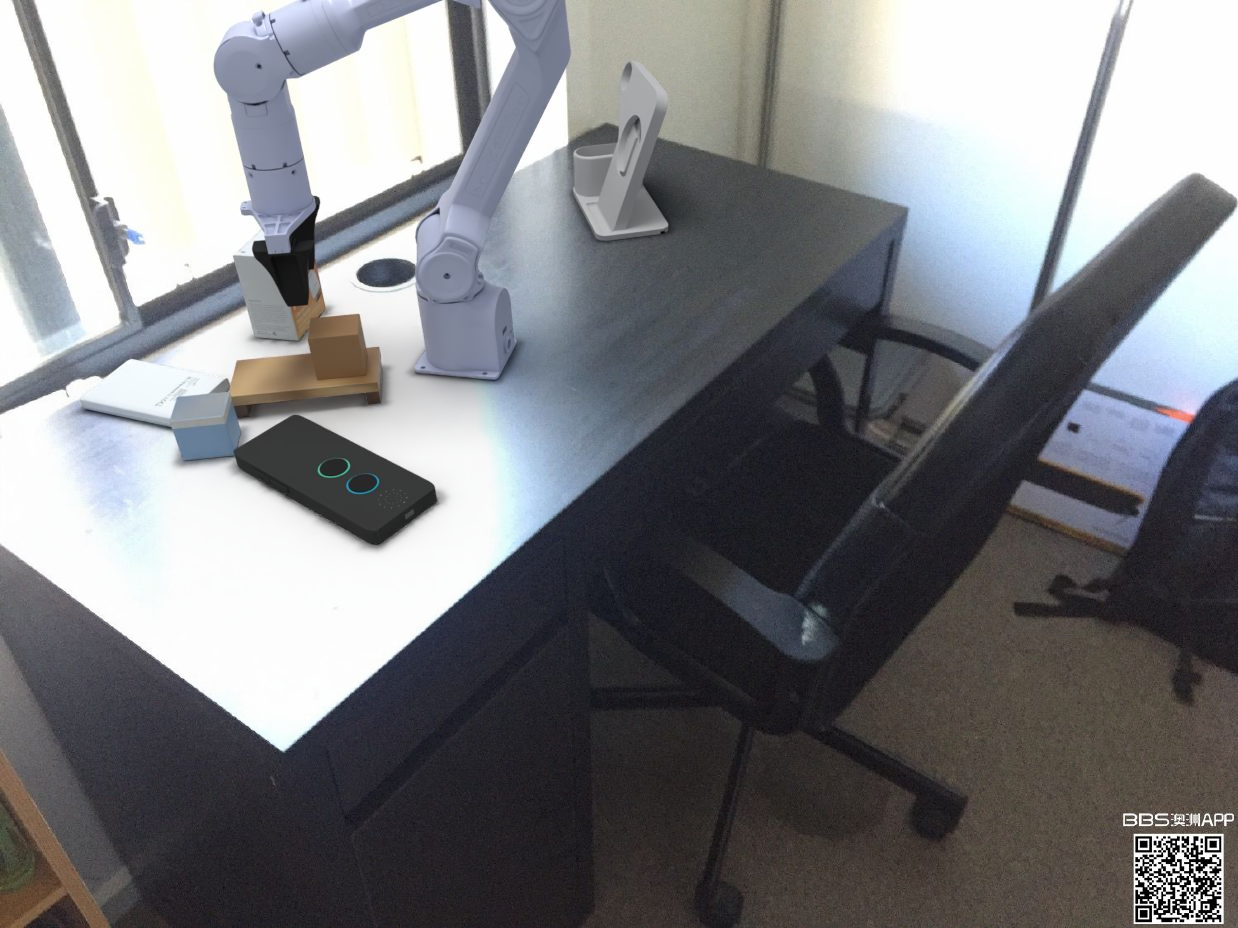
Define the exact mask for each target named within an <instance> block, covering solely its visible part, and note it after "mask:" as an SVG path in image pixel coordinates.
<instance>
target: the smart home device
mask: <svg viewBox="0 0 1238 928" xmlns="http://www.w3.org/2000/svg"><path fill="white" fill-rule="evenodd" d="M233 456H234V458H235V462H236V464H237V467H238V468H239V469H241V470H242V471H243V472H245V473H247V474H248V475H251V476H252V477H254V478H255V479H258V480H260V481H261V482H263V483H264V484H266V485H268V486H270V487H271V488H273V489H274V490H277V491H278V492H280V493H282V494H284V495H286V496H287V497H289V498H291V499H292V500H293V501H296V502H298V503H299V504H301V505H303V506H304V507H306V508H308V509H310V510H312V511H313V512H315V513H317V514H319V515H320V516H322V517H324V518H325V519H327V520H329V521H331V522H333V523H334V524H335V525H338V526H339V527H341V528H343V529H345V530H347V531H348V532H350V533H351V534H354V535H355V536H356V537H359V538H360V539H362V540H364V541H366V542H367V543H370V544H373V545H380V544H381V543H383V542H384V541H386V539H388V538H390V537H391V536H392V535H393V534H395V533H396V532H397V531H399V530H400V529H402V528H403V527H404V526H405V525H407V524H408V523H410V522H411V521H413V520H414V519H415V518H416V517H417V516H419V515H421V514H422V513H424V511H425V510H427V509H428V508H430V507H431V506H433V505H434V504H435V503H437V501H438V497H437V491H436V486H435V484H434V483H433V482H431V481H430V480H428V479H426V478H424V477H422V476H420V475H418V474H417V473H414V472H412V471H411V470H409V469H406V468H405V467H403V466H401V465H399V464H396V463H395V462H393V461H391V460H389V459H387V458H385V457H383V456H381V455H379V454H377V453H375V452H373V451H372V450H369V449H367V448H365V447H363V446H361V445H360V444H357V443H356V442H354V441H351V439H348V438H346V437H344V436H342V435H341V434H338V433H337V432H335V431H333V430H331V429H329V428H326V427H324V426H322V425H321V424H318V423H317V422H315V421H313V420H311V419H309V418H307V417H305V416H303V415H301V414H292V415H289V416H288V417H287V418H284V419H283V420H281V421H280V422H278V423H277V424H275V425H273V426H271V427H270V428H268V429H266V430H265V431H263V432H261V433H259V434H258V435H256V436H255V437H253V438H251V439H250V440H248V441H246V442H245V443H243V444H242V445H240V446H237V449H235V450H234V455H233Z"/></svg>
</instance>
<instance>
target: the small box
mask: <svg viewBox="0 0 1238 928" xmlns="http://www.w3.org/2000/svg"><path fill="white" fill-rule="evenodd" d="M259 240H265V237H264V232H263V230H262V229H261V228H260V230H259V231H258V232H257V233H256V234H255V235H253V236H252V237H251V239H249V240H248V241H247V242H246V243H245V244H244V245H243V246H242V247H241V248H239V250H238V251H235V252H234V253H233V254H232V259H233V262H234V265H235V270H236V273H237V276H238V280H239V284H240V288H241V292H242V295H243V300H244V303H245V306H246V310H247V314H248V318H249V321H250V324H251V329H252V332H253V336H254V338H261V339H275V340H286V341H299V340H301V338H302V337H303V335H304V334H305V333H306V331H307V330H309V325H310V319H311V318H318V317H320V315H322V314H323V312H325V310H326V308H327V306H326V301H325V298H324V293H323V287H322V283H321V278H320V274H319V270H318V265H317V260H316V259H315V264H314V270H308V276H309V302H308V305H305V306H293V307H288V306H287V305H286V303H285V301H284V300H283V298H282V296H281V294H280V292H279V290H278V288H277V286H276V284H275V282H274V280H273V279H272V277H271V275H270V274H269V273H268V271H267V270H266V269H265V268H264V266H263V265H262V264H261V263H260V262H258V261H257V260H256V259H255V257H254V255H253V252H252V246H253V242H254V241H259Z"/></svg>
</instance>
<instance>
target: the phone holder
mask: <svg viewBox="0 0 1238 928" xmlns="http://www.w3.org/2000/svg"><path fill="white" fill-rule="evenodd" d="M617 102H618V103H617V107H618V108H617V109H618V110H617V112H618V113H617V114H618V138H617V142H612V143H604V144H595V145H585V146H580V147H578V148H576V149H575V150H574V151H573V152H572V153H573V154H572V156H573V175H574V186H573V188H572V194H573V197H574V199H575V200H576V202H577V205H578V206H579V208H580V210H581V212H582V214H583V216H584V218H585V219H586V222H587V225H588V226H589V227H590V229H591V232H592V234H593V236H594V237H595V239H596V240H599V241H601V242H602V241H603V242H609V241H616V240H623V239H624V240H625V239H633V238H640V237H647V236H654V235H661V232H664V233H667V232H668V231H669V222H668V221H667V219H666V218H665V216H664V215H663V213H662V211H661V210H660V209H659V208H658V206H657V204H656V203H655V201H654V200H653V197H651V195H650V194H649V191H647V189H646V187H645V186H644V178H645V175H646V173H647V172H646V171H647V169H648V165H649V163H650V161H651V157H652V154H653V151H654V149H655V146H656V143H657V140H658V137H659V134H660V132H661V130H662V126H663V123H664V120H665V117H666V114H667V111H668V106H669V96H668V93H667V91H666V90H665V88H663V86H662V85H661V84H660V83H659V82H658V80H657V79H656V77H654V76H653V75H652V73H651V72H650V71H649V69H647V68H646V67H645V65H644V64H643V63H642V62H639V61H636V60H632V59H628V60H627V61H626V62H625V64H624V66H623V68H622V71H621V74H620V77H619V80H618V85H617Z"/></svg>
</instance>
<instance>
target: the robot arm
mask: <svg viewBox="0 0 1238 928" xmlns="http://www.w3.org/2000/svg"><path fill="white" fill-rule="evenodd" d="M452 1H453V2H457V3H460V4H462V5H465V6H469V7H472V8H475V9H481V8H482V6H481V0H452ZM487 1H488V3H489V4H490V6H491V7H492V8H493V9H494V11H495V12H496V13H497V15H498V16H499V17H500V18H501V19H502V20H503V22H504V23H505V24H506V26H507V27H508V30H509V34H510V37H511V39H512V40H513V44H514V46H515V48H514V50H513V52H512V54H511V56H510V58H509V61H508V63H507V65H506V67H505V69H504V71H503V73H502V76H501V78H500V80H499V82H498V85H497V86H496V89H495V90H494V93H493V95H492V97H491V99H490V102H489V104H488V106H487V107H486V109H485V112H484V114H483V117H482V118H481V121H480V123H479V125H478V127H477V130H476V131H475V133H474V136H473V138H472V140H471V142H470V144H469V146H468V148H467V150H466V152H465V155H464V157H463V159H462V162H461V163H460V165H459V168H458V170H457V172H456V174H455V176H454V179H453V181H452V183H451V185H450V186H449V188H448V189H447V190H446V191H444V192H443V193H442V194H441V196H440V197H439V200H438V202H437V204H436V206H435V207H434V208H433V209H432V210H431V211H430V212H428V213H426V214H425V215H424V216H422V218H421V219H420V220H419V221H418V224H417V225H416V229H415V235H414V238H415V243H416V262H415V267H414V277H415V283H414V285H415V292H416V297H417V299H416V300H417V304H418V311H419V318H420V323H421V329H422V336H423V341H424V342H423V343H424V349H425V350H424V351H423V352H422V354H421V356H420V358H419V359H418V360H417V362H416V363H415V365H414V367H413V370H414V373H417V374H429V375H439V376H450V377H458V378H459V377H460V378H471V379H480V380H481V379H482V380H490V381H491V380H492V381H493V380H498V379H499V378H500V376H501V374H502V372H503V370H504V369H505V367H506V365H507V363H508V360H509V358H510V356H511V355H512V353H513V352H514V350H515V347H516V345H517V339H516V338H515V332H514V322H513V311H512V303H511V296H510V293H509V290H508V289H507V288H506V287H502V286H499V285H495V284H493V283H490V282H488V281H487V280H485V276H484V273H483V272H482V271H480V269H479V261H480V258H481V255H482V253H483V252H484V249H485V245H486V242H487V237H488V233H489V228H490V224H491V220H492V218H493V216H494V214H495V212H496V210H497V209H498V206H499V204H500V202H501V200H502V197H503V195H504V194H505V192H506V190H507V187H508V185H509V183H510V182H511V180H512V177H513V175H514V174H515V171H516V169H517V167H518V166H519V163H520V162H521V159H522V157H523V155H524V153H525V151H526V149H527V147H528V145H529V143H530V141H531V140H532V138H533V135H534V133H535V131H536V129H537V127H538V125H539V123H540V121H541V119H542V117H543V115H544V113H545V111H546V109H547V107H548V105H549V103H550V101H551V99H552V97H553V95H554V93H555V91H556V89H557V87H558V86H559V83H560V82H561V81H560V80H561V79H562V77H563V75H564V73H565V71H566V69H567V68H568V65H569V63H570V62H569V61H570V59H571V56H572V54H571V53H572V51H571V50H572V49H571V40H570V31H569V22H568V13H567V12H568V11H567V4H566V0H487ZM439 2H443V0H295V1H293V2H290V3H288V4H287V5H284V6H282V7H280V8H278V9H275V10H273V11H271V12H269V13H267V14H266V13H265V11H263V10H262V9H261V10H259V11H256V12H255V13H253V14H252V16H251V20H243V21H239V22H237V23H235V24H233V25H231V26H230V27H229V28H228V29H227V30H226V32H225V33H224V35H223V37H222V39H221V41H220V43H219V45H218V47H217V48H216V51H215V54H214V57H213V73H214V74H213V75H214V77H215V79H216V81H217V83H218V85H219V87H220V88H221V89H222V90H223V91H224V93H225V94H226V97H227V103H228V105H229V110H230V119H231V123H232V126H233V131H234V136H235V140H236V143H237V148H238V152H239V155H240V160H241V164H242V165H241V166H242V169H243V173H244V176H245V181H246V185H247V188H248V193H249V197H250V198H249V199H250V200H244V201H242V202H241V204H240V207H239V210H240V214H241V215H242V216H246V217H248V216H252V217H253V218H254V219H255V221H256V222H257V224H258V226H259V227H260V230H261V229H262V230H263V232H264V237H265V240H259V241H254V242H253V246H252V252H253V255H254V257H255V259H256V260H257V261H258V262H260V263H261V264H262V265H263V266H264V268H265V269H266V270H267V271H268V273H269V274H270V275H271V277H272V279H273V280H274V282H275V284H276V286H277V288H278V290H279V292H280V294H281V296H282V298H283V300H284V301H285V303H286V305H287V306H288V307H293V306H305V305H308V302H309V276H308V270H314V264H315V260H316V241H315V240H316V239H315V238H316V237H315V235H316V221H317V217H318V213H319V210H320V208H321V207H320V206H321V198H320V196H317V195H313V193H312V189H311V184H310V179H309V175H308V170H307V164H306V159H305V155H304V151H303V145H302V140H301V134H300V131H299V126H298V121H297V115H296V111H295V107H294V106H293V104H292V100H291V95H290V90H289V85H288V81H287V80H291V79H299V78H302V77H304V76H306V75H308V74H311V73H313V72H315V71H317V70H319V69H322V68H324V67H326V66H328V65H331V64H333V63H335V62H338V61H339V60H342V59H343V58H345V57H349V56H350V55H352V54H354V53H357V52H359V51H360V50H361V48H362V45H363V42H364V38H365V35H366V32H368V30H371V29H374V28H377V27H379V26H382V25H384V24H386V23H389V22H392V21H395V20H397V19H399V18H402V17H404V16H407V15H410V14H412V13H414V12H417V11H419V10H422V9H425V8H427V7H430V6H431V5H435V4H438V3H439Z"/></svg>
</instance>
